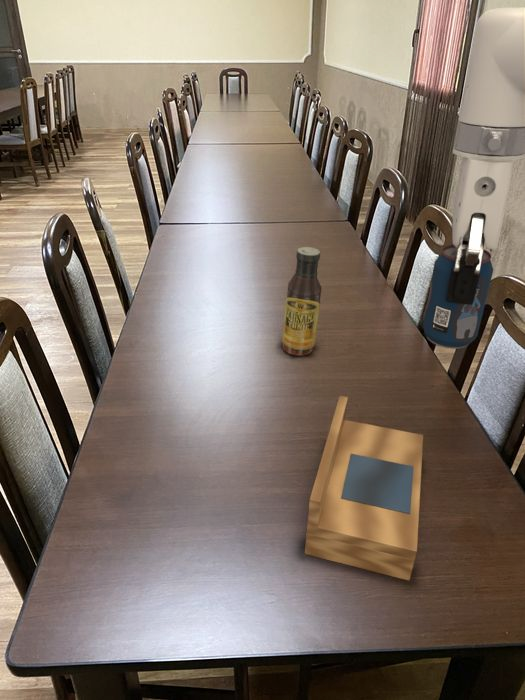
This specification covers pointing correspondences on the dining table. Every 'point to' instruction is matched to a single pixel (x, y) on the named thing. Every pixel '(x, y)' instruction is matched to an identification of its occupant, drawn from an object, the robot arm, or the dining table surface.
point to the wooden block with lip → (366, 497)
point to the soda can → (454, 304)
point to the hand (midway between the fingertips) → (458, 288)
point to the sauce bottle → (302, 304)
